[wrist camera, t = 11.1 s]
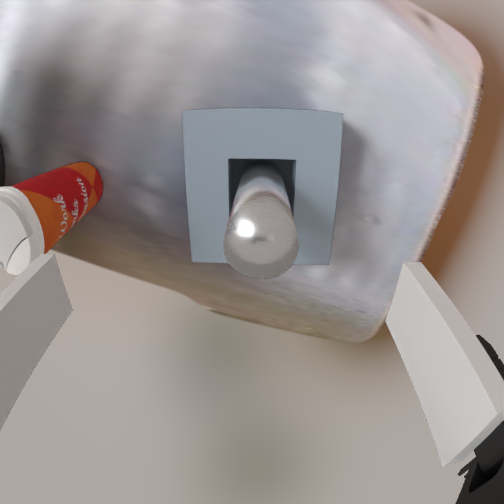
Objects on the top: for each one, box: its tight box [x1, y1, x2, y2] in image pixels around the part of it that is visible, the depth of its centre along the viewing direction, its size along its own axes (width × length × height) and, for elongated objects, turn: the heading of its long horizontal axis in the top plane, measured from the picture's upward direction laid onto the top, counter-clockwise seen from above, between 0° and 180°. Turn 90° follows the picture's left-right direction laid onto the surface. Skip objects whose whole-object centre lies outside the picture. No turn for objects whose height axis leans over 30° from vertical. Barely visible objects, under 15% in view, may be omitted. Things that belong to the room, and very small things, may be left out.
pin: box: [223, 160, 299, 279], centre depth 22 cm, size 4×4×14 cm
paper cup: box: [0, 162, 103, 275], centre depth 24 cm, size 8×8×14 cm
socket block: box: [182, 108, 343, 265], centre depth 27 cm, size 13×14×4 cm
